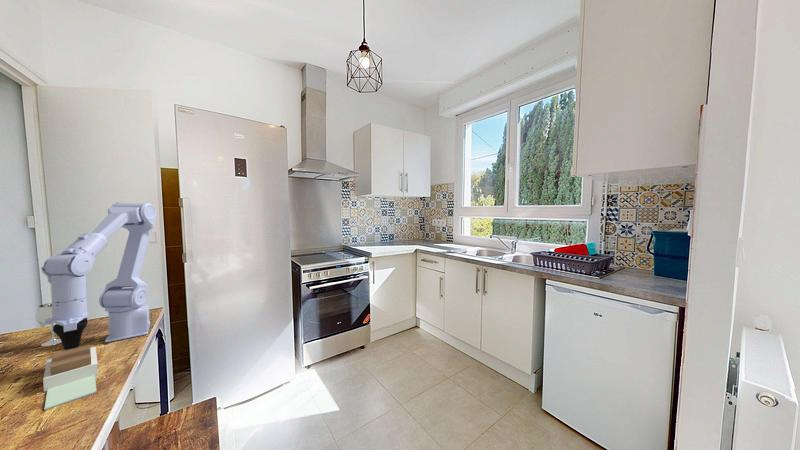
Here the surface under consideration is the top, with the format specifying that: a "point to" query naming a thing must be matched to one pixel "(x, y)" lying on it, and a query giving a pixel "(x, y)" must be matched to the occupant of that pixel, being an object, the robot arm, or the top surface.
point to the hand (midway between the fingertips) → (72, 349)
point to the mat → (70, 392)
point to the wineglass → (41, 316)
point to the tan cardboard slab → (70, 359)
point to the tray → (70, 373)
